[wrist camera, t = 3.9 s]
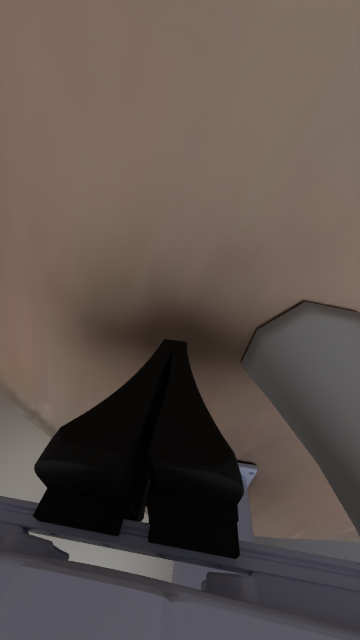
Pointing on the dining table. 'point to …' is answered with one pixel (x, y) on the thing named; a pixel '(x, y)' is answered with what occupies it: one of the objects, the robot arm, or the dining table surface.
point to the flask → (316, 388)
